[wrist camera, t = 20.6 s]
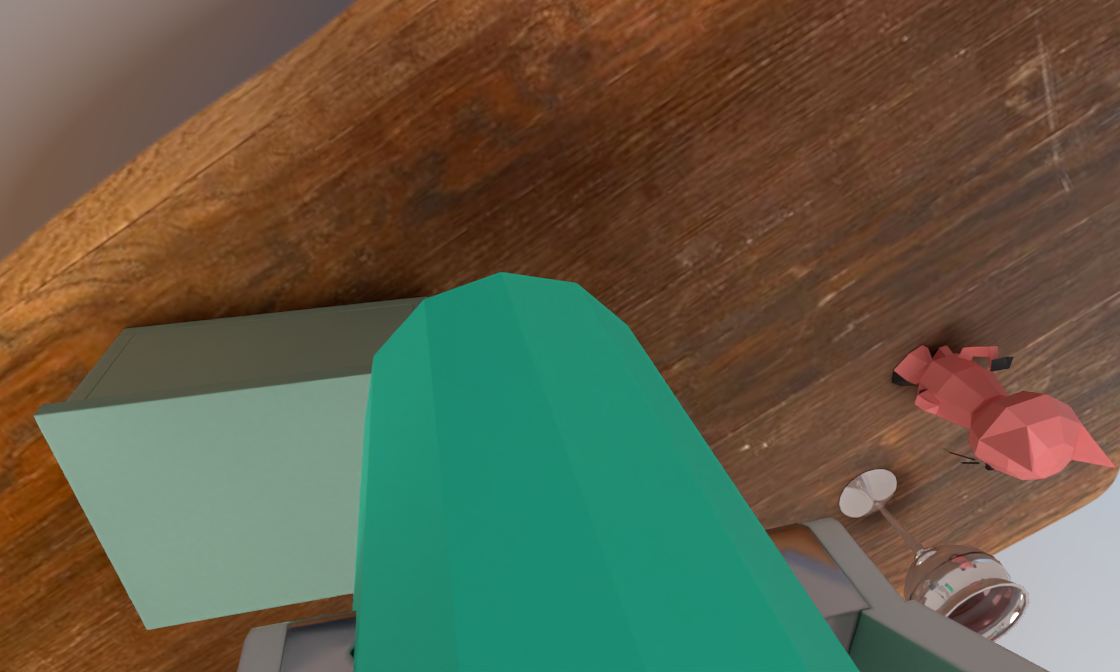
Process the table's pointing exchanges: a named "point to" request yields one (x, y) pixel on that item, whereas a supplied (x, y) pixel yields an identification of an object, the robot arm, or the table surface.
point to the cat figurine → (998, 413)
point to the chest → (243, 348)
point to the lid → (221, 489)
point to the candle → (556, 506)
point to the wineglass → (945, 568)
